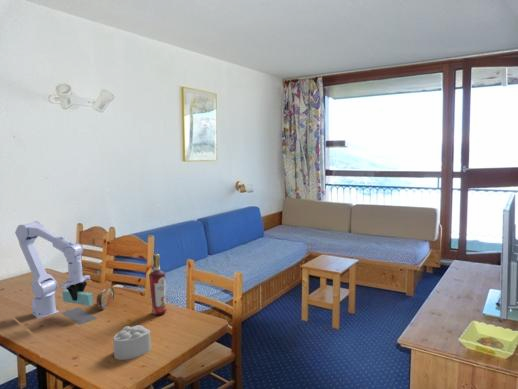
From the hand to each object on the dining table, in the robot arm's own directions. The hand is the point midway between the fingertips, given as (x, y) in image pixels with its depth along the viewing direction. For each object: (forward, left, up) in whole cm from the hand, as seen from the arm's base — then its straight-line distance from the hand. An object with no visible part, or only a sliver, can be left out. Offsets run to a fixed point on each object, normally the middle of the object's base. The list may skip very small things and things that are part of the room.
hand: (77, 299), depth 178 cm
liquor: (+26, -27, -9) cm, 38 cm away
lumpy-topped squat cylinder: (-1, -49, -9) cm, 49 cm away
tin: (+14, +1, -9) cm, 16 cm away
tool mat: (0, -1, -8) cm, 8 cm away
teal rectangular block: (0, 0, -2) cm, 2 cm away
